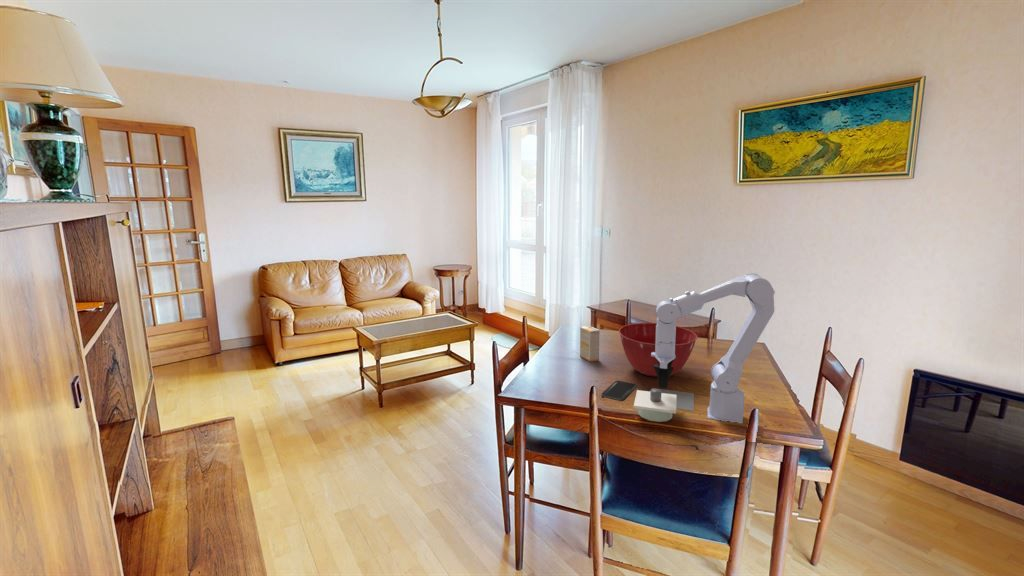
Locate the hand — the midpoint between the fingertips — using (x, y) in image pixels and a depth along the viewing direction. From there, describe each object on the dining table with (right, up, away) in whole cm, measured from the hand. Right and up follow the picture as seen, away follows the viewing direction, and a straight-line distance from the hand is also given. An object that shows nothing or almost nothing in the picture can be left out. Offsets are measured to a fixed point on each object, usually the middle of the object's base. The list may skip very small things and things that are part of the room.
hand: (663, 382), depth 145 cm
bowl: (-3, -10, -1) cm, 10 cm away
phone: (-10, -7, +17) cm, 21 cm away
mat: (+6, -8, +10) cm, 13 cm away
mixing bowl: (+8, -3, +35) cm, 36 cm away
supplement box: (-15, 0, +50) cm, 52 cm away
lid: (-3, -6, -2) cm, 7 cm away
